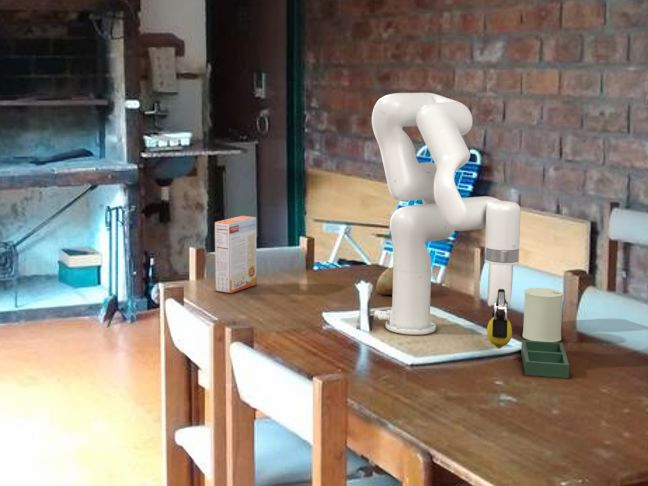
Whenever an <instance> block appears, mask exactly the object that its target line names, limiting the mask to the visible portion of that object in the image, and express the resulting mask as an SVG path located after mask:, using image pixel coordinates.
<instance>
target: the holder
mask: <svg viewBox="0 0 648 486" xmlns="http://www.w3.org/2000/svg"><path fill="white" fill-rule="evenodd" d="M520 346H521V347H520V350H521V351H520V353H521V360H522V365H523V371H524V376H533V377H544V378H545V377H547V378H560V379H569V378H570V363H569V360H568V356H567V353H566V350H565V346H564V343H563V342H559V341H558V342H543V341H530V340H527V339H521V345H520Z"/></svg>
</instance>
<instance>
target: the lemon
mask: <svg viewBox="0 0 648 486" xmlns="http://www.w3.org/2000/svg"><path fill="white" fill-rule="evenodd" d="M493 319H494V317H493V318H492V317H491V319H489V320H488V324H487V327H486V335H487V339H488V341H489V342H490V344H492V345H493V346H495V347H496V348H497V349H502V347H504V346H506V345H508V344H509V343H510V342H511V339H512V337H513V336H512V335H513V328H512V324H511V322H510V320H509V319H508V318H507V320H508V324H507V338H498V337H493V336H492V330H493ZM496 320H497V319H496Z"/></svg>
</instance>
